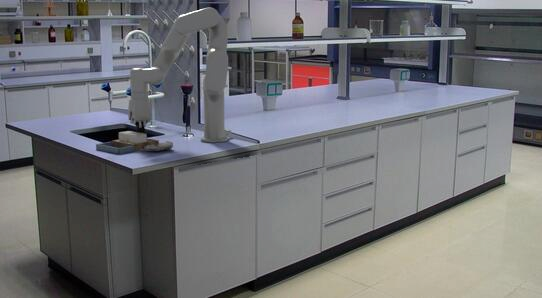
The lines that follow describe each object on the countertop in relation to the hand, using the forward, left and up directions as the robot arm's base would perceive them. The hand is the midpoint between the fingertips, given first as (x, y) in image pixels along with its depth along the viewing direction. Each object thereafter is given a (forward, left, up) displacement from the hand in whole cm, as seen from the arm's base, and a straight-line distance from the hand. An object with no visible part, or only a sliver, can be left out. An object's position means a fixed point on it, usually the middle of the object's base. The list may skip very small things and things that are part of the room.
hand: (141, 135), depth 269 cm
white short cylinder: (+7, 0, -1) cm, 8 cm away
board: (+6, +4, -4) cm, 8 cm away
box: (+17, +4, -4) cm, 18 cm away
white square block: (+7, +7, -1) cm, 10 cm away
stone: (+3, +23, -5) cm, 23 cm away
